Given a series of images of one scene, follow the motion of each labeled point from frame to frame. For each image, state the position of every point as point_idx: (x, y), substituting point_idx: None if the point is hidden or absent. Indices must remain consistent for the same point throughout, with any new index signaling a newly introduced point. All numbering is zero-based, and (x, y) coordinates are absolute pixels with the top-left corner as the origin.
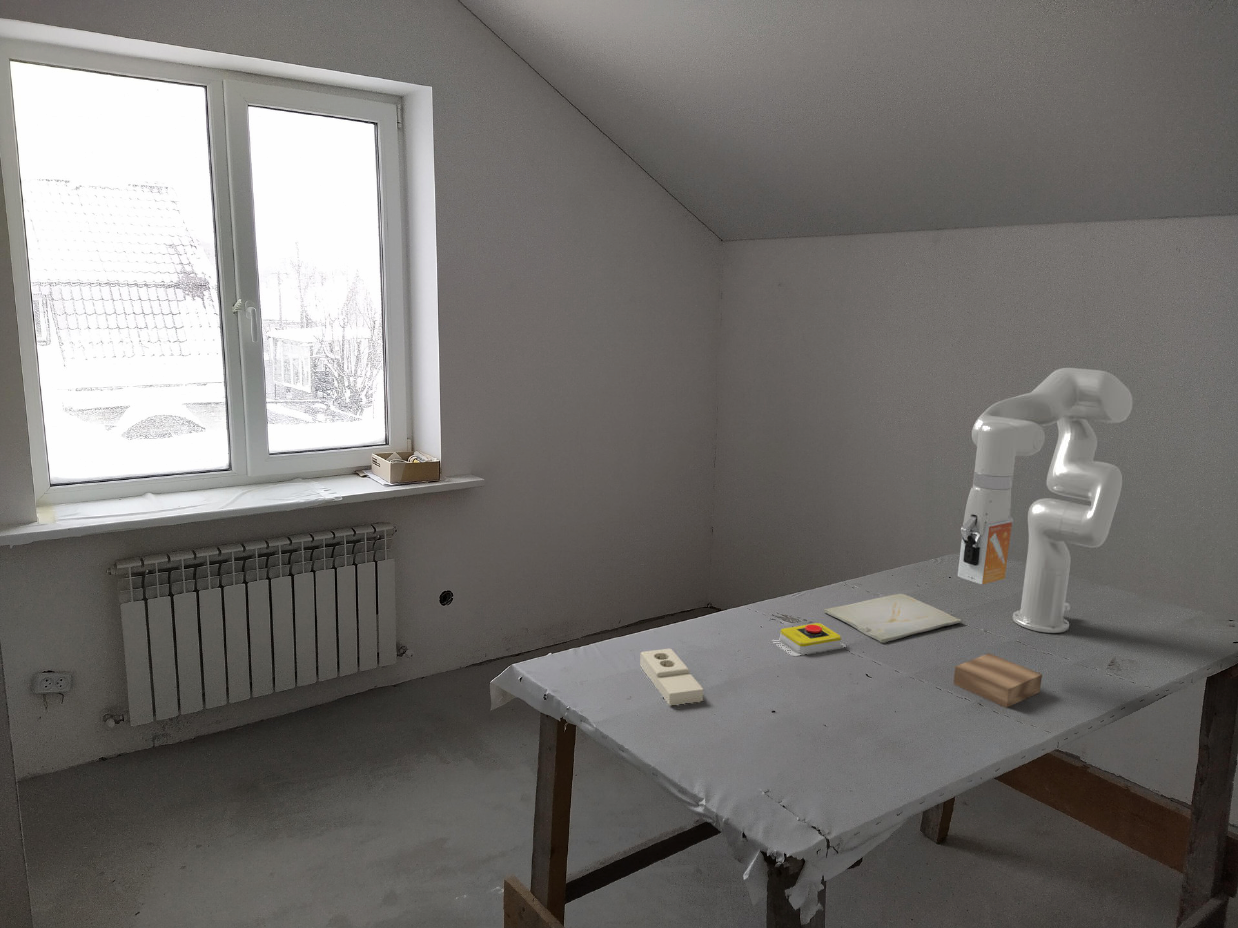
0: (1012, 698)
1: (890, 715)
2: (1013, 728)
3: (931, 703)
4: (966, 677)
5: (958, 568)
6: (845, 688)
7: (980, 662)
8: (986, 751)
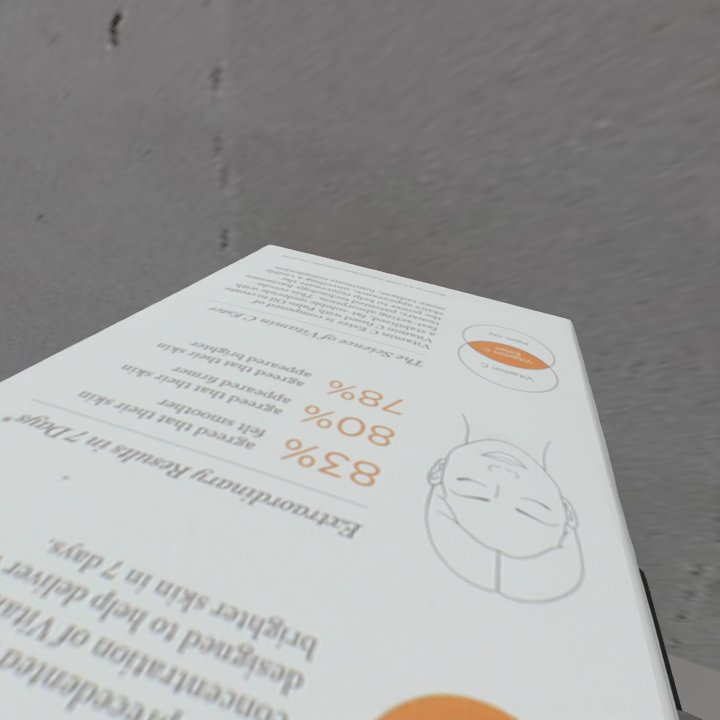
0: None
1: (18, 219)
2: None
3: (142, 264)
4: None
5: (235, 263)
6: (5, 36)
7: None
8: None
